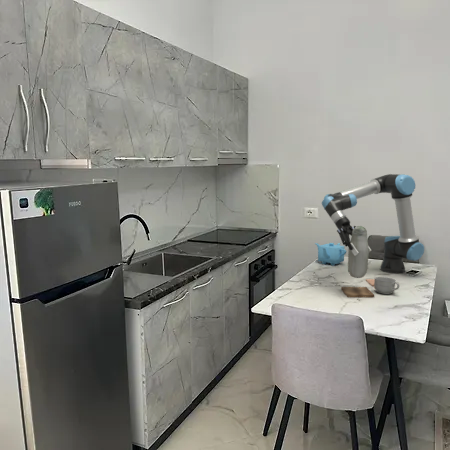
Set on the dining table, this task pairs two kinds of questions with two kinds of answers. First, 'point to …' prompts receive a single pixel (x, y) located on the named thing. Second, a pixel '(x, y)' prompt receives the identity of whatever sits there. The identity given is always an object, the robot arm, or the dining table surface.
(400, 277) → the dining table surface
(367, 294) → the walnut board
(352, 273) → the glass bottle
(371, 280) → the terracotta tile
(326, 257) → the teakettle
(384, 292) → the teacup
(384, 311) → the dining table surface
